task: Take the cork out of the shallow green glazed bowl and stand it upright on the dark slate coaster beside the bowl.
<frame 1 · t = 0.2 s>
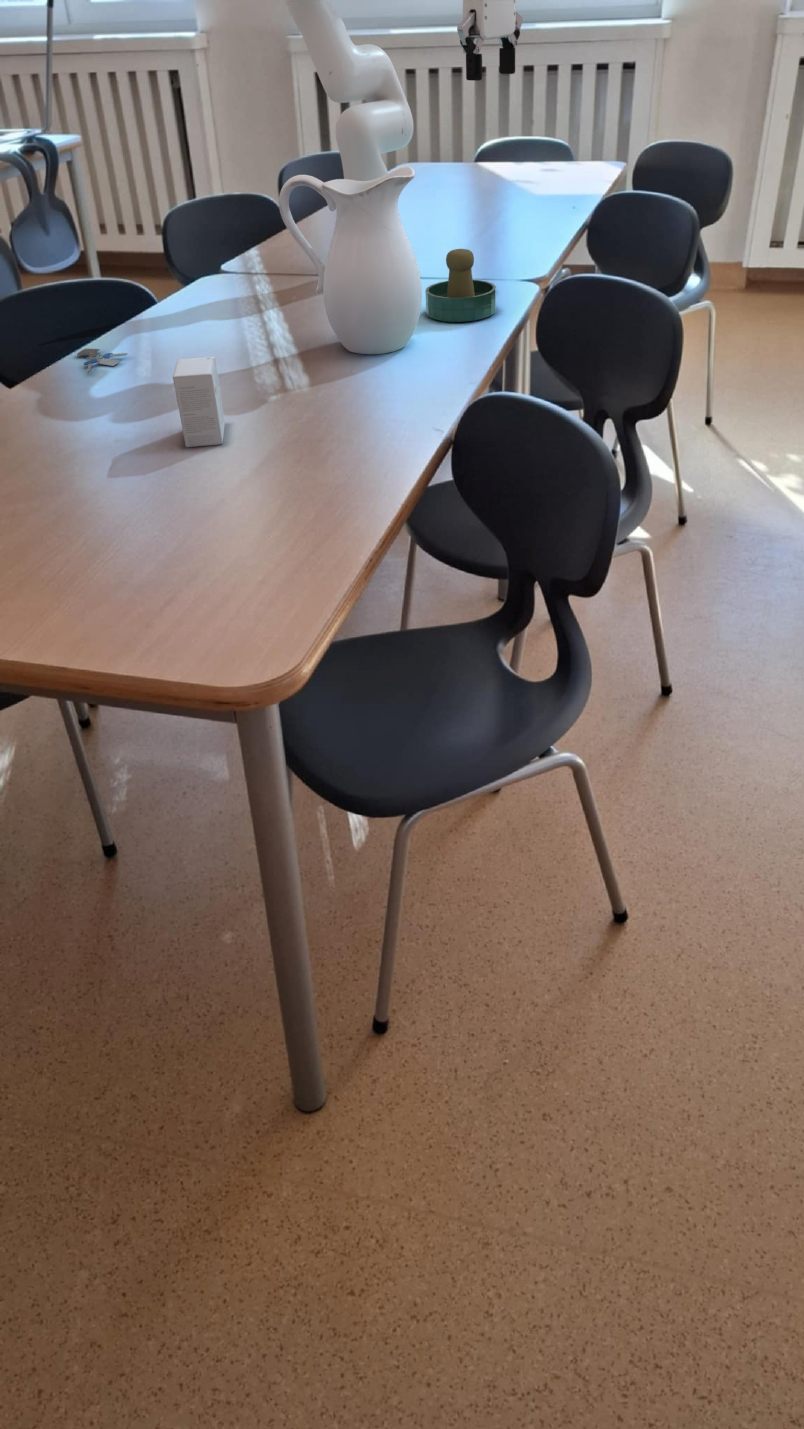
hand: (491, 76, 192), 37 cm above the table, tool pointing down, fingers open, 9 cm apart
key chain: (104, 360, 190), on the table
small box: (206, 437, 158), on the table
cork: (461, 312, 202), resting on bowl
bowl: (461, 313, 202), on the table
pitcher: (358, 345, 190), on the table
coaster: (466, 293, 213), on the table
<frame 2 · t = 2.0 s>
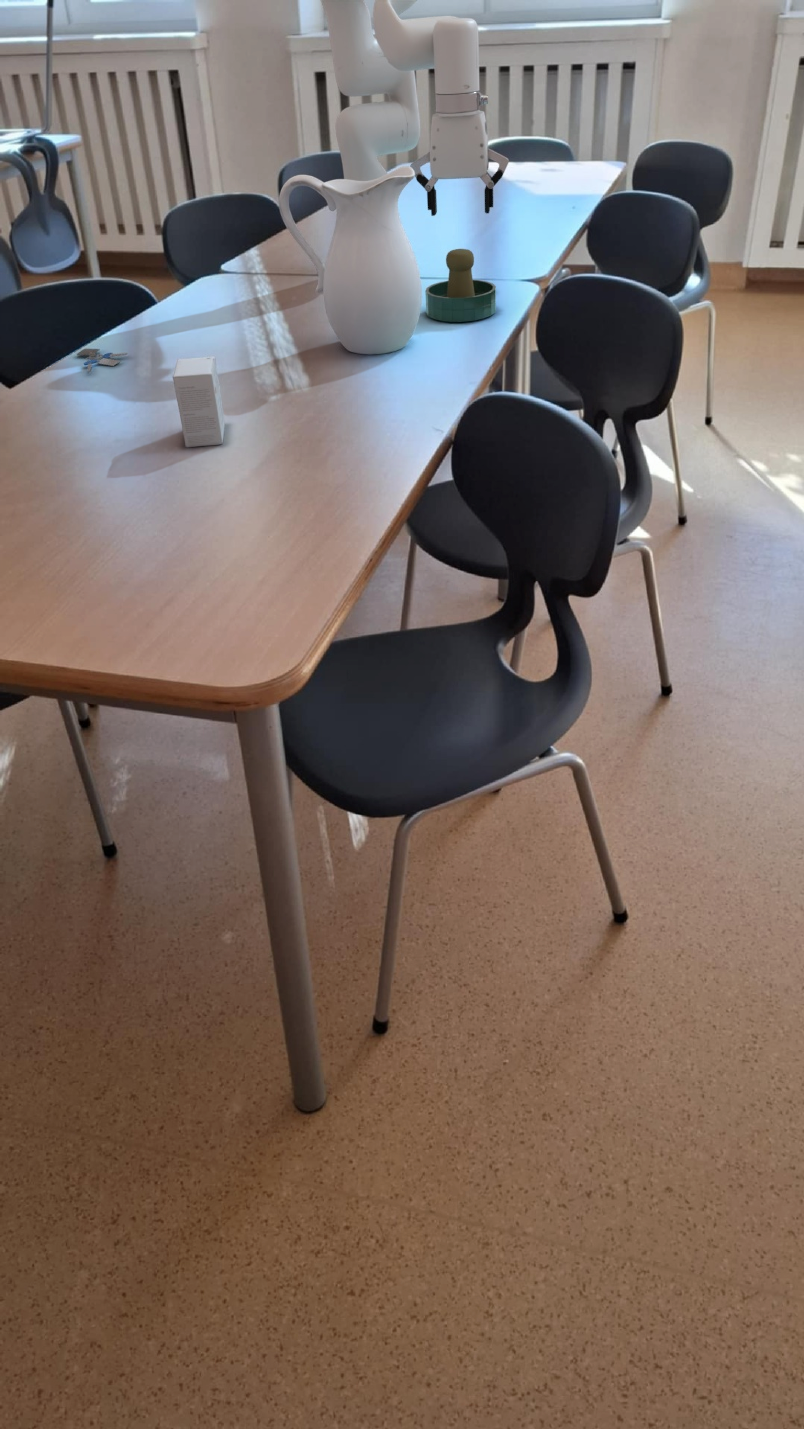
hand: (460, 213, 192), 18 cm above the table, tool pointing down, fingers open, 9 cm apart
nothing on the table moved.
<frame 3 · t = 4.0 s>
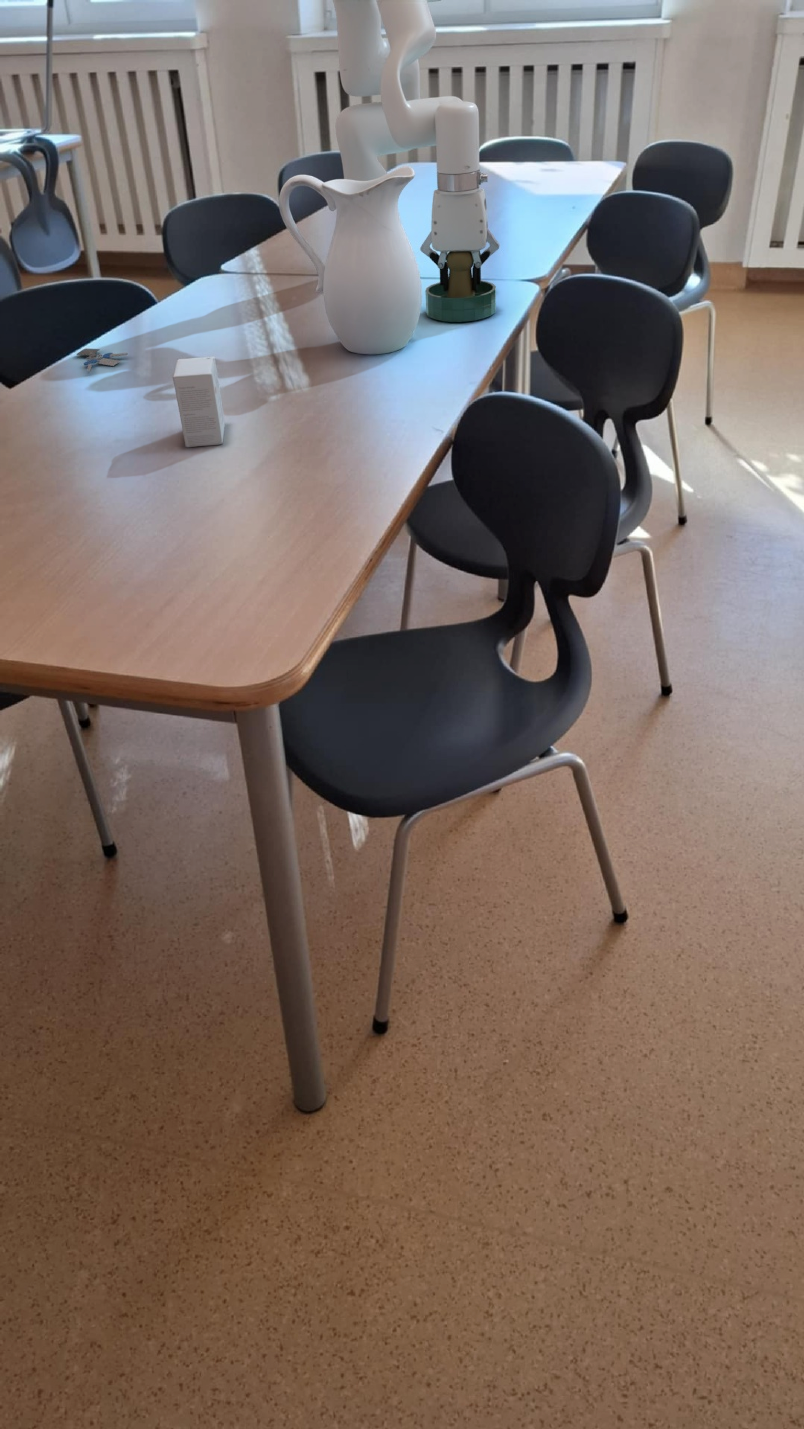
hand: (460, 287, 199), 5 cm above the table, tool pointing down, fingers closed on cork, 4 cm apart
cork: (461, 312, 202), resting on bowl, touching gripper
everything else where it was.
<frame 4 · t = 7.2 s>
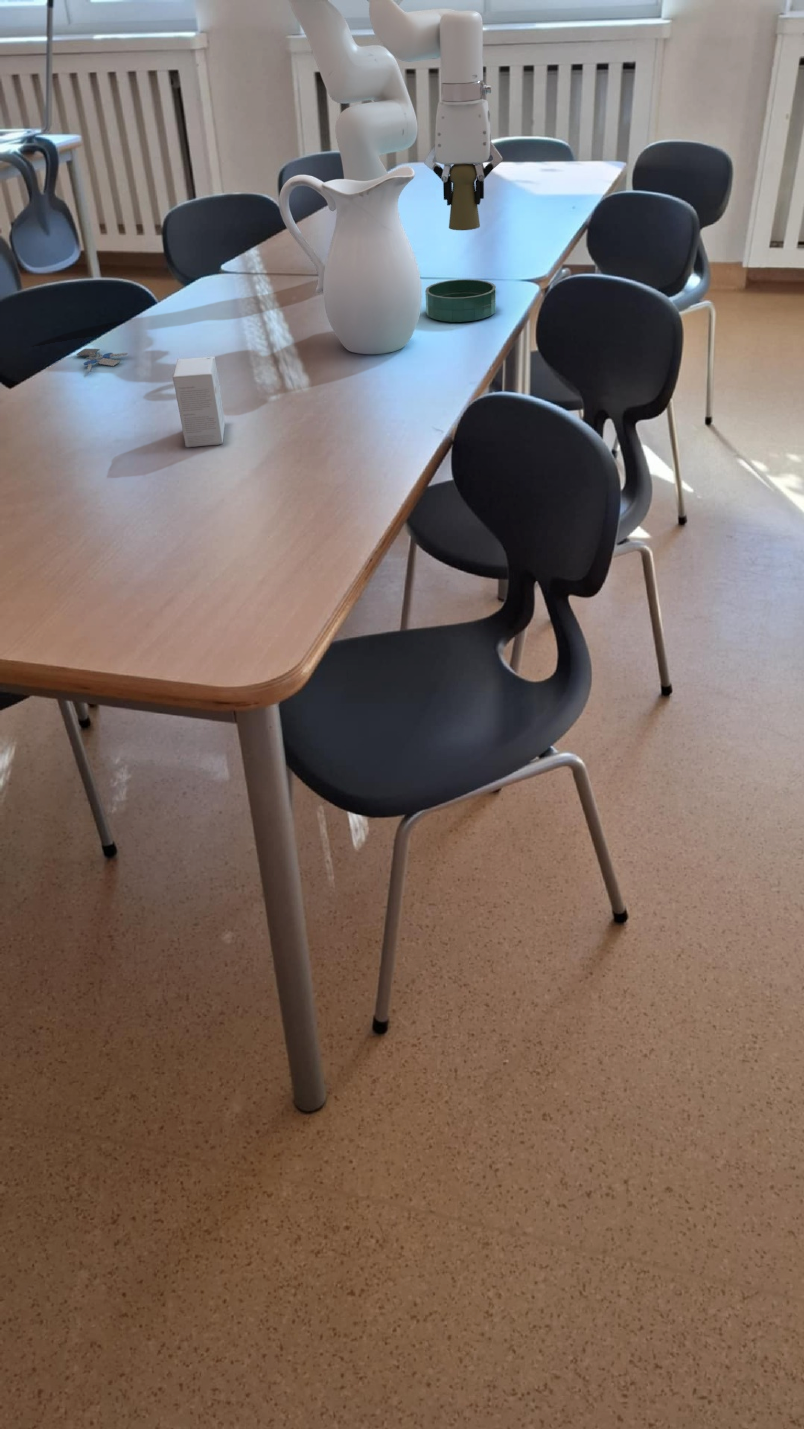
hand: (463, 202, 202), 17 cm above the table, tool pointing down, fingers closed on cork, 4 cm apart
cork: (464, 227, 204), point 13 cm above the table, touching gripper
everything else where it was.
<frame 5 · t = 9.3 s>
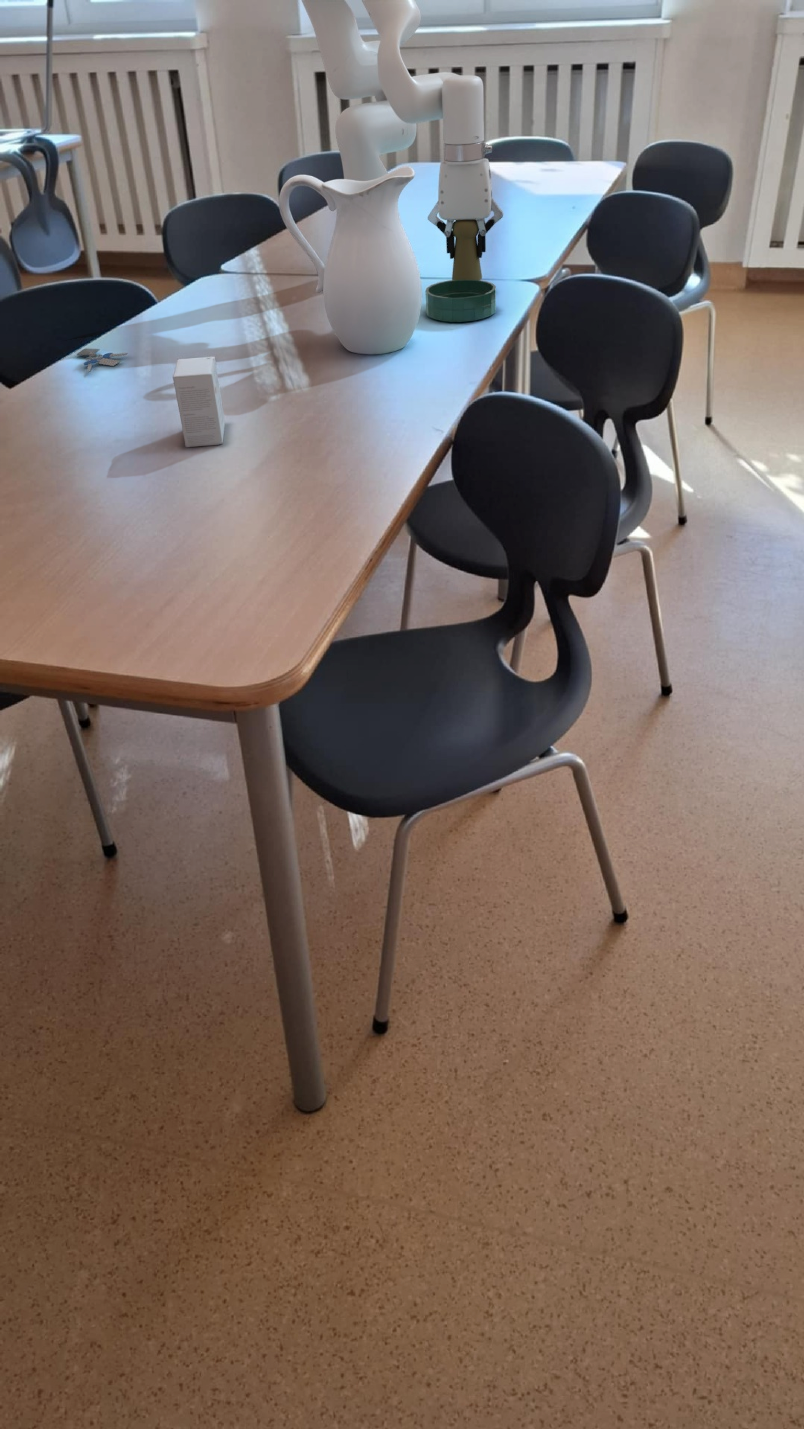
hand: (466, 255, 209), 7 cm above the table, tool pointing down, fingers closed on cork, 4 cm apart
cork: (467, 279, 211), point 3 cm above the table, touching gripper
everything else where it was.
when the fingers open (5 cm above the table, at t = 10.4 s): cork stays where it is, resting on coaster.
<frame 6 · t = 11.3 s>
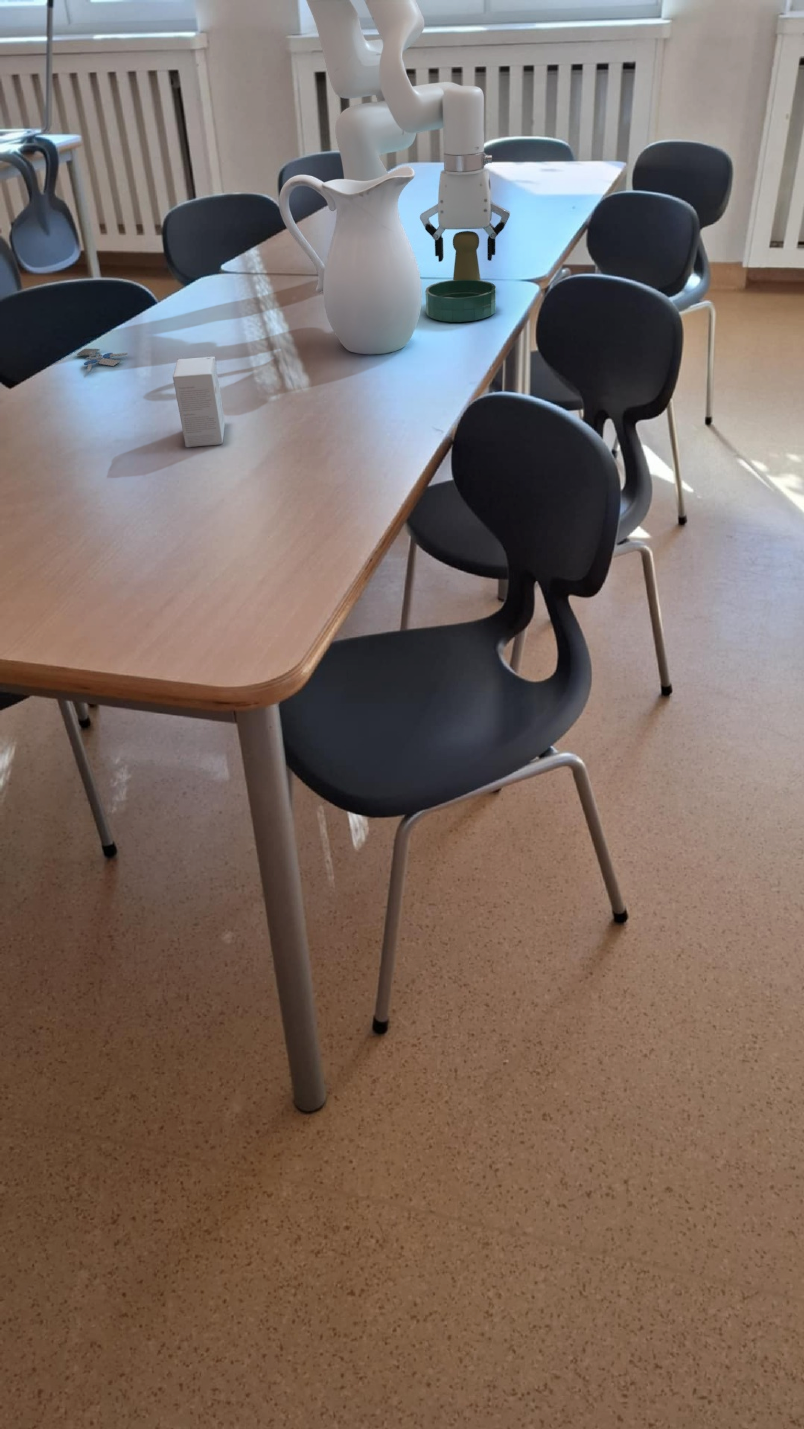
hand: (465, 259, 209), 6 cm above the table, tool pointing down, fingers open, 9 cm apart
cork: (466, 292, 213), resting on coaster
everything else where it was.
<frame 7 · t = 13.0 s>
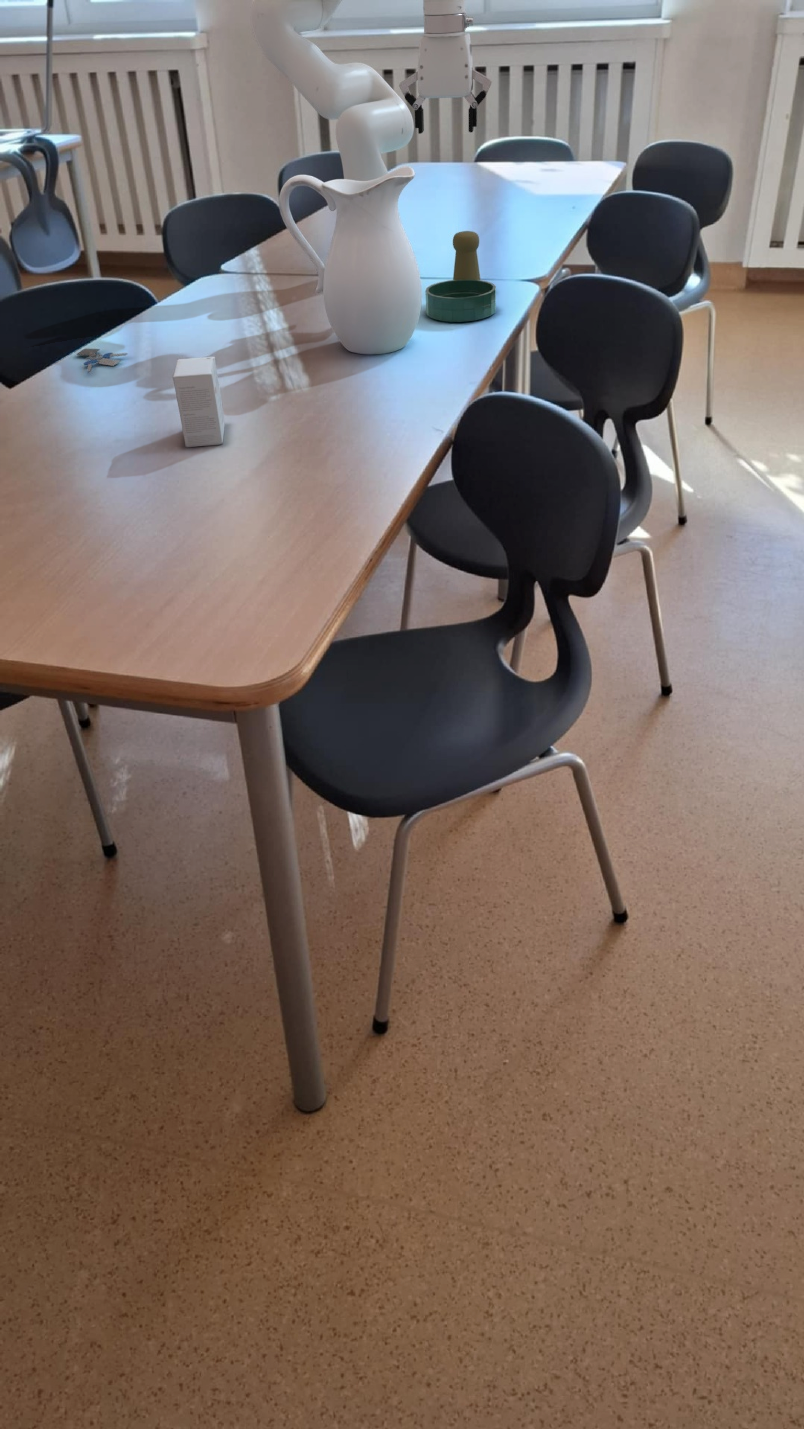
hand: (446, 132, 204), 28 cm above the table, tool pointing down, fingers open, 9 cm apart
nothing on the table moved.
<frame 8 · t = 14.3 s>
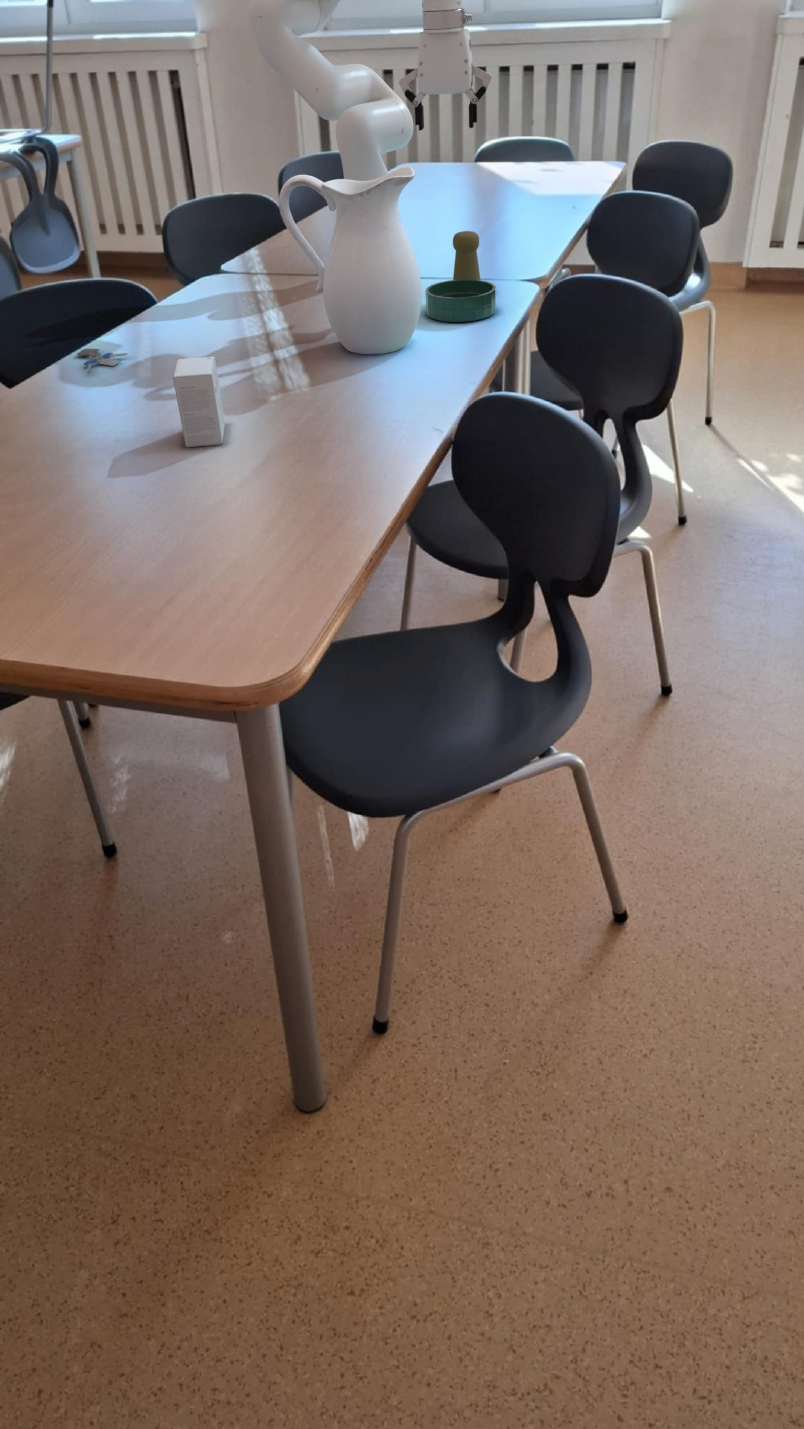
hand: (446, 128, 203), 28 cm above the table, tool pointing down, fingers open, 9 cm apart
nothing on the table moved.
at the end: cork inside the target area (0.1 cm from its centre), resting on coaster; cork tilted 0°; the gripper is holding nothing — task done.
